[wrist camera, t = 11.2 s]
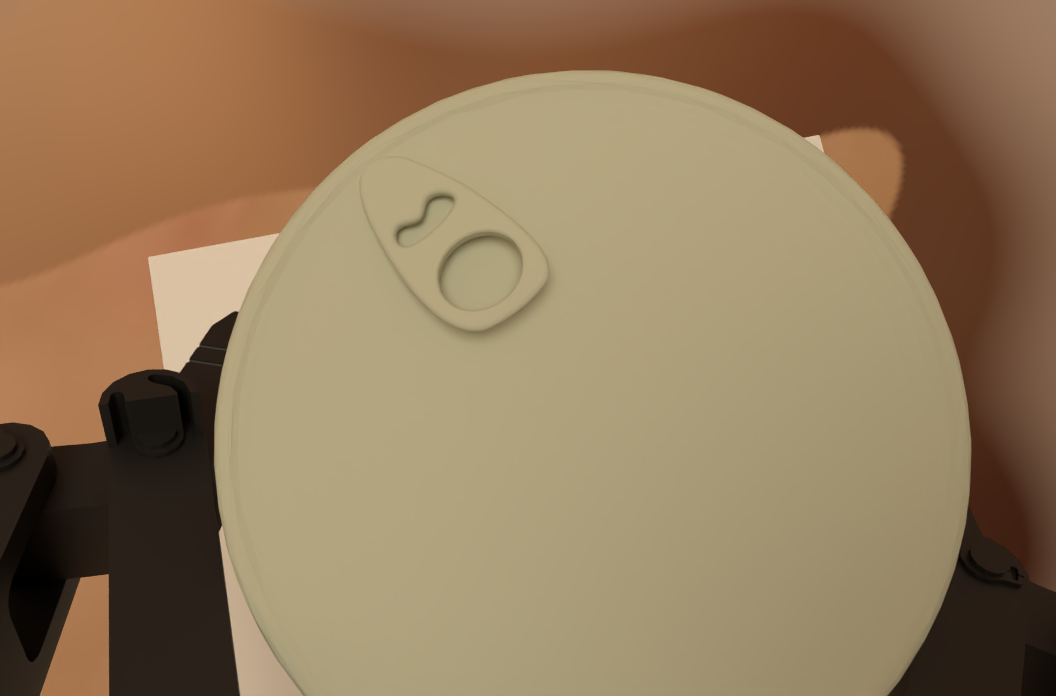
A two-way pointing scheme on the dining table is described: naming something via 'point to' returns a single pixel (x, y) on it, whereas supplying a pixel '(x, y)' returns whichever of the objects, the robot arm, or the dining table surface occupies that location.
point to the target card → (183, 320)
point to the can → (592, 410)
